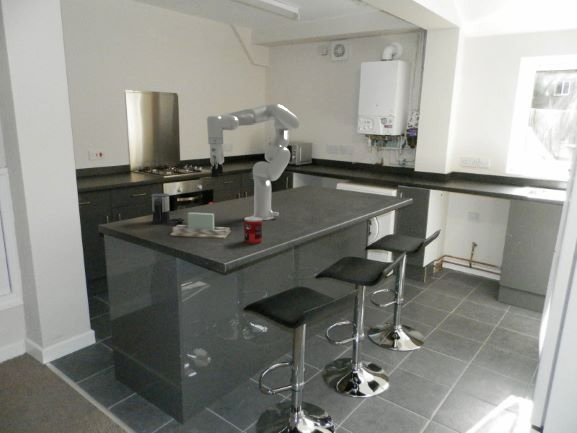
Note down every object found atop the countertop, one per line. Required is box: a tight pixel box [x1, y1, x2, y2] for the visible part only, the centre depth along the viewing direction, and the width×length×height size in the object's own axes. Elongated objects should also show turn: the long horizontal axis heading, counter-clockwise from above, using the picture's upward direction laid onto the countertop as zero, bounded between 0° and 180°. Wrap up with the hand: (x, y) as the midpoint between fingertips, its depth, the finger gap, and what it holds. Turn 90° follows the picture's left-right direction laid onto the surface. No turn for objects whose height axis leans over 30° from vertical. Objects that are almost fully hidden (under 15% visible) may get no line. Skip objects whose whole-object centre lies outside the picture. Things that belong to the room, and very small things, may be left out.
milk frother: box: [150, 193, 185, 225], centre depth 219 cm, size 14×16×15 cm
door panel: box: [187, 212, 215, 230], centre depth 200 cm, size 12×3×9 cm, turn 84°
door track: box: [170, 224, 232, 239], centre depth 201 cm, size 26×12×3 cm, turn 84°
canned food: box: [243, 216, 263, 245], centre depth 189 cm, size 8×8×11 cm
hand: (217, 175), depth 214 cm, fingers open, 9 cm apart
